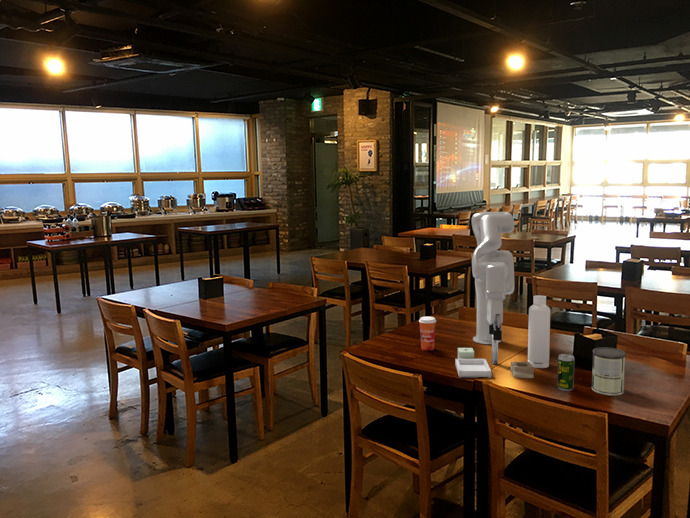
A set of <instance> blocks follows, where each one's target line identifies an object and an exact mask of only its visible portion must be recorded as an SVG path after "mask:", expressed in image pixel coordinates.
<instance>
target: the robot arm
mask: <svg viewBox="0 0 690 518" xmlns="http://www.w3.org/2000/svg"><path fill="white" fill-rule="evenodd" d="M471 227H472V231H473V234H474V237H475V240H476V245H477V247H475V250H474V251H473V253H472V256H471V271H472V277H473V278H474V286H475V287H474V288H475V293H476V294H475V296H476V335H475V336H473V337H472V341H474V343H478V344H483V345H492V335H493V340H498V344H499V343H501V342H502V340H503V337H502V336H503V334H502V331H503V330H502V328H503V327H502V324H503V322H504V321H503V320H504V318H503V317H504V305H503V304H504V300H506V295H512V294H513V293H514V292H515V265H514V264H515V263H514V256H513V254H512V252H511V251H509V250H499V249H500V248H501V246H502V245H503V244H502V234H510V233H512V232H513V231H514V228H515V219H514V216H513V214H511V213H510V212H508V211H481V212H476V213H474V214H473V215H472V217H471Z"/></svg>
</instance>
